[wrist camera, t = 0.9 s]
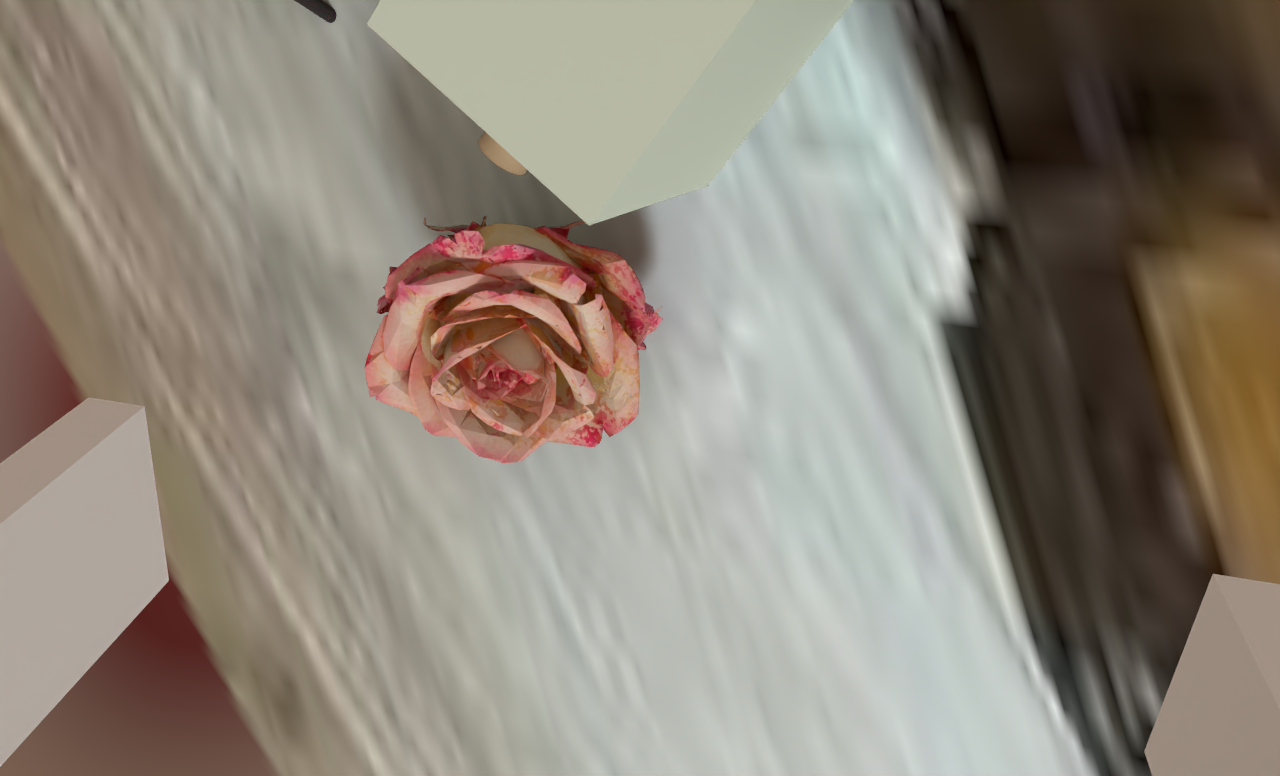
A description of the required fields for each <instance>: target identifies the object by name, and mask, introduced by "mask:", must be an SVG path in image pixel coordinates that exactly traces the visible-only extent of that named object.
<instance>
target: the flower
mask: <svg viewBox="0 0 1280 776" xmlns="http://www.w3.org/2000/svg"><path fill="white" fill-rule="evenodd" d="M485 220H486V216H485V217H484V218H483V222H482V224H481V225H479V224H477V223H475V222H472V223H471V225H470V226H466V225H460V226H454V227H436V226H428V225H426V219H424V225H426V226H427V227H428V228H430V229H432V230H436V231H445V230H449V231H452V232H455V233H456V234H454V235H448V236H449V238H450V239H449V238H447V237H444V236H441V235H440V236H439V237H438V238H437V239H436V240H435V241H434V242H433V243H431V244H428V245H427V246H425V247H423V248H422V249H420V250H419V251H417V252H416V253H414V254H413V255H412V256H410V257H409V258H408V259H407V260H406V261H405V262H404V263H402V264H401V265H400V266H399V267H398V268H397V267H390V274H389V276H388V279H387V283H386V286H385V287H383V288H384V289H385V295H384V296H382V297H381V298H380V299H379V300H378V305H377V307H378V311H377V313H379V314H382V313H385V312H389V314H388V315H386V316H384V318H383V320H382V323H381V325H380V327H379V329H378V332H377V334H376V336H375V339H374V341H373V344H372V346H371V349H370V352H369V354H368V357H367V360H366V364H365V373H366V380H367V385H368V388H369V395H370V397H371V396H376V400H379V401H381V402H383V403H385V404H388V405H391V406H394V407H397V408H400V409H403V410H406V411H409V412H411V413H412V414H414V415H416V416H418V417H419V418H420V420H421V422H422V424H423V426H424V428H425V430H427V431H428V432H429V433H431V434H433V435H435V436H451V437H456V438H457V439H458V440H459V441H460V442H461V443H462V444H463V445H464V446H466V447H467V448H468V449H470V450H471V451H473V452H474V453H475V454H477V455H478V456H481V457H485V458H488V459H492V460H495V461H498V462H502V463H513V462H519V461H522V460H524V459H525V458H526V457H528V456H529V455H530V454H531V453H532V452H534V451H535V450H536V449H537V448H538V447H540V446H541V445H542V444H544V443H545V442H559V443H567V444H574V445H580V446H586V447H595V446H596V445H598V444H599V443H600V441H601V438H602V431H603V429H604V430H605V432H606V433H607V434H608V436H609V437H610V436H612V435H614V434H616V433H618V432H619V431H621V430H622V429H623V428H625V427H626V426H627V425H628V424H629V423H630V422H632V421H633V420H634V419H635V418H636V416H637V415H638V411H639V387H640V382H639V354H638V350H639V349H642V350H646V346H645V344H644V343H643V341H644V339H645V337H646V336H647V335H648V334H649V333H651V332H652V331H654V330H655V329H656V328H657V327H658V325H659V324H660V323H661V321H662V320H663V319H662V318H661V317H659V316H658V314H657V312H658V311H659V310H660V308H661V307H662V306H661V307H660V308H659V309H658V310H656V311H655V312H654V309H653V307H652V306H650V305H649V304H647V303H645V295H644V292H643V289H642V287H641V284H640V282H639V280H638V278H637V276H636V275H635V273H634V271H633V269H632V268H631V267H630V266H629V265H628V264H627V263H626V261H625V259H623V258H622V257H621V256H619V255H617V254H616V253H614V252H611V251H606V250H601V249H597V248H592V247H588V246H583V245H578V244H574V243H572V242H571V241H569V240H567V237H568V232H569V229H570V228H572V227H574V226H576V225H579V224H585V222H574V223H571V224H568V225H566V226H560V227H550V228H547V227H545V226H542V227H538V228H531V227H527V226H522V225H515V224H501V223H495V224H492V225H489V226H486V223H485ZM381 311H382V312H381ZM607 380H608V381H607ZM593 385H595V386H594V387H593ZM630 394H631V396H632V399H631V398H630ZM611 398H612V399H611ZM634 405H635V406H634ZM631 411H632V412H631Z"/></svg>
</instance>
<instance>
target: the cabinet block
mask: <svg viewBox="0 0 1280 776" xmlns="http://www.w3.org/2000/svg"><path fill="white" fill-rule="evenodd" d="M853 1H854V0H380V2H379V4H378V5H377V7H376V9H375V11H374V12H373V14H372V16H371V18H370V20H369V21H368V23H367V25H368V26H369V27H370V28H371V29H372V30H374V31H375V32H376V33H377V34H378V35H379V36H380V37H381V38H382V39H384V40H385V41H386V42H387V43H388V44H389V45H390V46H391V47H392V48H393V49H395V50H396V51H397V52H398V53H399V54H400V55H401V56H402V57H403V58H404V59H406V60H407V61H408V62H409V63H410V64H411V65H412V66H413V67H414V68H416V69H417V70H418V71H419V72H420V73H421V74H422V75H423V76H424V77H425V78H427V79H428V80H429V81H430V82H431V83H432V84H433V85H434V86H435V87H436V88H438V89H439V90H440V91H441V92H442V93H443V94H444V95H445V96H446V97H448V98H449V99H450V100H451V101H452V102H453V103H454V104H455V105H456V106H457V107H459V108H460V109H461V110H462V111H463V112H464V113H465V114H466V115H467V116H468V117H470V118H471V119H472V120H473V121H474V122H475V123H476V124H477V125H478V126H479V127H481V128H482V129H483V130H484V131H485V132H484V134H483V135H482V137H481V138H480V140H479V142H478V144H479V147H480V149H481V150H482V152H483V153H484V154H485V155H486V156H487V157H488V158H489V159H490V160H491V161H492V162H493V163H495V164H496V165H498V166H499V167H501V168H502V169H504V170H506V171H508V172H510V173H513V174H516V175H524V174H525V173H526V172H527V170H528V171H529V172H530V173H531V174H532V175H534V176H535V177H536V178H537V179H538V180H539V181H540V182H541V183H542V184H543V185H545V186H546V187H547V188H548V189H549V190H550V191H551V192H552V193H553V194H554V195H556V196H557V197H558V198H559V199H560V200H561V201H562V202H563V203H564V204H566V205H567V206H568V207H569V208H570V209H571V210H572V211H573V212H574V213H575V214H577V215H578V216H579V217H580V218H581V219H582V220H583V221H584V222H585V223H586V224H588V225H592V224H595V223H598V222H601V221H604V220H607V219H610V218H613V217H616V216H619V215H622V214H625V213H628V212H631V211H634V210H637V209H640V208H643V207H646V206H649V205H652V204H655V203H658V202H661V201H664V200H667V199H670V198H673V197H676V196H679V195H682V194H685V193H688V192H691V191H694V190H697V189H700V188H703V187H706V186H708V185H709V184H710V183H711V182H712V180H713V179H714V178H715V177H716V175H717V174H718V173H719V171H720V170H721V169H722V168H723V166H724V165H725V164H726V163H727V161H728V160H729V159H730V157H731V156H732V155H733V154H734V152H735V151H736V150H737V149H738V147H739V146H740V145H741V143H742V142H743V141H744V140H745V138H746V137H747V136H748V135H749V133H750V132H751V131H752V129H753V128H754V127H755V126H756V124H757V123H758V122H759V121H760V119H761V118H762V117H763V115H764V114H765V113H766V112H767V110H768V109H769V108H770V107H771V105H772V104H773V103H774V101H775V100H776V99H777V98H778V96H779V95H780V94H781V93H782V91H783V90H784V89H785V87H786V86H787V85H788V84H789V82H790V81H791V80H792V79H793V77H794V76H795V75H796V73H797V72H798V71H799V70H800V68H801V67H802V66H803V65H804V63H805V62H806V61H807V60H808V58H809V57H810V56H811V54H812V53H813V52H814V51H815V49H816V48H817V47H818V46H819V44H820V43H821V42H822V40H823V39H824V38H825V37H826V35H827V34H828V33H829V32H830V30H831V29H832V28H833V26H834V25H835V24H836V23H837V21H838V20H839V19H840V18H841V16H842V15H843V14H844V12H845V11H846V10H847V9H848V7H849V6H850V5H851V4H852V2H853Z"/></svg>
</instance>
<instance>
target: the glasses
mask: <svg viewBox="0 0 1280 776" xmlns="http://www.w3.org/2000/svg"><path fill="white" fill-rule="evenodd" d="M295 1H296V2H298V3H299V4H301V5H302V6H304V7H306V8H307V9H309V10H310V11H312V12H313V13H315V14H316V15H318V16H320V17H321V18H323V19H324V20H326V21H327V22H329V23H332V22H334V21H335V19H336V12H335V10H334V9H333V8H332V7H331V6H329V5H328V4H326V3H325V2H323V1H322V0H295Z"/></svg>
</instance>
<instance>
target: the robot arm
mask: <svg viewBox="0 0 1280 776" xmlns="http://www.w3.org/2000/svg"><path fill="white" fill-rule="evenodd" d="M168 581H169V579H168V571H167V564H166V557H165V550H164V542H163V535H162V528H161V521H160V514H159V507H158V500H157V493H156V485H155V478H154V471H153V464H152V457H151V450H150V443H149V436H148V428H147V421H146V414H145V407H144V406H139V405H133V404H127V403H120V402H114V401H108V400H101V399H95V398H87V399H86V400H85V401H83V402H82V403H81V404H79V405H78V406H77V407H75V408H74V409H73V410H71V411H70V412H69V413H67V414H66V415H65V416H63V417H62V418H61V419H59V420H58V421H57V422H55V423H54V424H53V425H51V426H50V427H49V428H47V429H46V430H45V431H43V432H42V433H40V434H39V435H38V436H36V437H35V438H34V439H32V440H31V441H30V442H29V443H27V444H26V445H24V446H23V447H22V448H20V449H19V450H18V451H16V452H15V453H14V454H12V455H11V456H10V457H8V458H7V459H6V460H4V461H3V462H2V463H0V766H1V765H2V764H3V763H4V762H5V761H6V760H7V758H8V757H9V756H10V755H11V754H12V753H13V752H14V751H15V750H16V749H17V747H18V746H19V745H20V744H21V743H22V742H23V741H24V740H25V738H26V737H27V736H28V735H29V734H30V733H31V732H32V731H33V730H34V729H35V728H36V727H37V725H38V724H39V723H40V722H41V721H42V720H43V719H44V718H45V717H46V715H47V714H48V713H49V712H50V711H51V710H52V709H53V708H54V707H55V706H56V704H57V703H58V702H59V701H60V700H61V699H62V698H63V697H64V696H65V694H66V693H67V692H68V691H69V690H70V689H71V688H72V687H73V686H74V685H75V684H76V682H77V681H78V680H79V679H80V678H81V677H82V676H83V675H84V674H85V672H86V671H87V670H88V669H89V668H90V667H91V666H92V665H93V664H94V663H95V661H96V660H97V659H98V658H99V657H100V656H101V655H102V653H104V651H105V650H106V649H107V648H108V647H109V646H110V645H111V644H112V643H113V642H114V641H115V639H116V638H117V637H118V636H119V635H120V634H121V633H122V632H123V631H124V629H125V628H126V627H127V626H128V625H129V624H130V623H131V622H132V621H133V619H134V618H135V617H136V616H137V615H138V614H139V613H140V612H141V611H142V610H143V608H144V607H145V606H146V605H147V604H148V603H149V602H150V601H151V599H153V597H154V596H155V595H156V594H157V593H158V592H159V591H160V590H161V589H162V587H163V586H164V585H165V584H166V583H167V582H168ZM1145 755H1146V758H1147V761H1148V764H1149V767H1150V770H1151V773H1152V776H1280V584H1274V583H1268V582H1261V581H1255V580H1248V579H1242V578H1236V577H1229V576H1223V575H1217V574H1213V575H1212V578H1211V580H1210V583H1209V585H1208V588H1207V591H1206V593H1205V596H1204V598H1203V601H1202V604H1201V606H1200V609H1199V611H1198V614H1197V616H1196V619H1195V622H1194V624H1193V627H1192V629H1191V632H1190V635H1189V637H1188V640H1187V642H1186V645H1185V648H1184V650H1183V653H1182V655H1181V658H1180V661H1179V663H1178V666H1177V668H1176V671H1175V673H1174V676H1173V679H1172V681H1171V684H1170V686H1169V689H1168V692H1167V694H1166V697H1165V699H1164V702H1163V705H1162V707H1161V710H1160V712H1159V715H1158V718H1157V720H1156V723H1155V725H1154V728H1153V730H1152V733H1151V736H1150V738H1149V741H1148V743H1147V746H1146V749H1145Z"/></svg>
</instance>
